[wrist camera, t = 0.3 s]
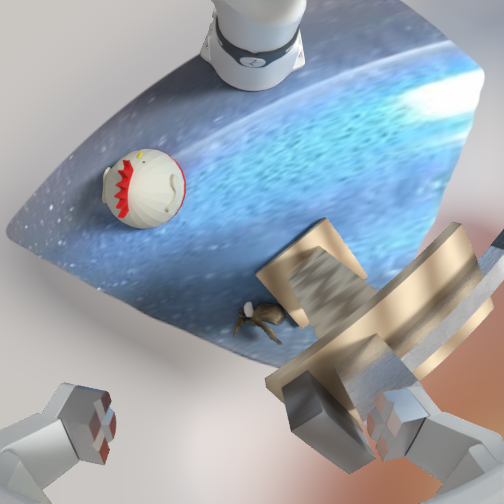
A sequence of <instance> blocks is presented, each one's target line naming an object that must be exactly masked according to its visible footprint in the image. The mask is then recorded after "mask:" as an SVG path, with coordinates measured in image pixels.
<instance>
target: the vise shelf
mask: <svg viewBox="0 0 504 504" xmlns="http://www.w3.org/2000/svg"><path fill="white" fill-rule="evenodd" d="M476 262H477V258H476V256H475V253H474V251H473V248H472V246H471V243H470V241H469V239H468V237H467V234H466V232H465V230H464V227H463V225H462V224H460V223H456V222H452V223H451V225H450V226H448V227H447V229H445V231H443V232H442V234H441V235H440V236H438V237H437V238H436V239H435V240H434V242H432V243H431V244H430V245H429V246H428V247H427V248H426V249H425V250H424V251H423V252H422V253H421V254H420V255H419V256H418V257H417V258H416V259H415V260H413V261H412V262H411V263H410V264H409V265H408V266H407V267H406V268H405V269H404V270H403V271H402V272H400V273H399V274H398V275H397V276H396V277H395V278H394V279H393V280H391V281H390V282H389V283H388V284H387V285H386V286H385V287H383V288H382V289H381V290H380V291H379V292H378V291H377V290H376V289H375V288H373V287H372V286H371V285H370V284H368V283H367V282H366V281H365V280H364V279H366V278H367V277H368V276H367V274H366V273H365V271H364V270H363V268H362V267H361V265H360V264H359V262H358V261H357V260H356V258H355V257H354V255H353V254H352V252H351V251H350V250H349V248H348V247H347V245H346V244H345V243H344V241H343V240H342V238H341V237H340V236H339V234H338V233H337V231H336V230H335V229H334V227H333V226H332V225H331V223H330V222H329V221H328V219H327V218H325V217H324V218H323V219H322V220H321V221H320V222H318V223H317V224H316V225H315V226H313V227H312V228H311V229H310V230H309V231H307V232H306V233H305V234H304V235H302V236H301V237H300V238H299V239H298V240H296V241H295V242H294V243H293V244H291V245H290V246H289V247H288V248H286V249H285V250H284V251H283V252H281V253H280V254H279V255H278V256H276V257H275V258H274V259H273V260H272V261H270V262H269V263H268V264H267V265H265V266H264V267H263V268H262V269H260V270H259V271H258V272H257V273H256V276H257V277H258V279H259V280H260V281H261V282H262V283H263V284H264V286H265V287H266V288H267V289H268V290H269V291H270V292H271V294H272V295H273V296H274V297H275V298H276V299H277V301H278V302H279V303H280V304H281V305H282V306H283V307H284V309H285V310H286V311H287V312H288V313H289V314H290V316H291V317H292V318H293V319H294V320H295V321H296V322H297V324H298V325H299V326H300V327H301V328H302V329H303V328H305V327H306V326H307V325H309V324H311V326H312V328H313V329H314V331H315V333H316V335H317V337H318V339H319V340H318V341H317V342H315V343H314V344H313V345H311V346H310V347H309V348H307V349H306V350H305V351H303V352H302V353H300V354H299V355H298V356H296V357H295V358H294V359H292V360H291V361H289V362H288V363H286V364H285V365H284V366H282V367H281V368H279V369H278V370H276V371H275V372H274V373H272V374H271V375H269V376H268V377H266V378H265V383H266V388H267V389H268V390H269V391H271V392H272V393H273V394H274V395H275V396H276V397H277V398H278V399H279V400H281V401H282V402H283V403H284V404H285V407H286V411H287V415H288V420H289V424H290V429H291V432H292V433H294V434H295V435H296V436H298V437H299V438H300V439H302V440H303V441H304V442H305V443H307V444H308V445H309V446H311V447H312V448H313V449H315V450H316V451H317V452H319V453H320V454H321V455H323V456H324V457H325V458H327V459H328V460H330V461H331V462H332V463H334V464H335V465H337V466H338V467H339V468H341V469H343V470H344V471H345V472H347V473H348V474H351V473H353V472H355V471H356V470H358V469H360V468H361V467H363V466H364V465H366V464H368V463H369V462H371V461H373V460H374V459H376V458H375V456H374V453H373V451H372V449H371V447H370V445H369V443H368V441H367V439H366V437H365V435H364V433H363V431H362V429H361V427H360V426H361V425H362V424H364V423H363V422H362V420H361V418H360V416H359V414H358V412H357V410H356V409H355V407H354V405H353V403H352V401H351V399H350V397H349V395H348V393H347V391H346V389H345V387H344V385H343V383H342V381H341V379H340V377H339V375H338V374H337V372H336V370H335V368H334V366H335V365H337V364H338V363H339V362H341V361H342V360H343V359H345V358H346V357H347V356H349V355H350V354H351V353H353V352H354V351H355V350H356V349H358V348H359V347H360V346H362V345H363V344H364V343H365V342H367V341H368V340H369V339H370V338H372V337H373V336H374V335H375V334H376V333H377V334H378V335H379V336H380V337H381V338H382V339H383V340H384V341H385V343H386V344H387V345H388V346H390V345H391V344H392V343H393V342H395V341H396V340H397V339H398V338H399V337H400V336H402V335H403V334H404V333H405V332H406V331H407V330H409V329H410V328H411V327H412V326H413V325H414V324H415V323H416V322H418V321H419V320H420V319H421V318H422V317H423V316H424V315H425V314H426V313H427V312H428V311H429V310H430V309H432V308H433V307H434V306H435V305H436V304H437V303H438V302H439V301H440V300H441V299H442V298H443V297H444V296H445V295H446V294H447V293H448V292H449V291H450V290H451V289H452V288H453V287H454V286H455V285H456V284H457V283H458V282H459V281H460V280H461V279H462V277H463V276H464V275H465V274H466V273H467V272H468V271H469V270H470V269H471V268H472V267H473V266H474V264H475V263H476ZM493 308H494V307H493V303H492V300H491V297H490V296H489V298H488V299H487V300H486V301H485V302H484V303H483V304H482V305H481V307H480V308H479V309H478V310H477V311H476V312H475V313H474V314H473V315H472V316H471V317H470V318H469V319H468V320H467V321H466V322H465V324H464V325H463V326H462V327H461V328H460V329H459V330H458V331H457V332H456V333H455V334H454V335H453V336H452V337H450V338H449V339H448V340H447V341H446V342H445V343H444V344H443V345H442V346H441V347H440V348H439V349H438V350H437V351H436V352H435V353H433V354H432V355H431V356H430V357H429V358H428V359H427V360H426V361H424V362H423V363H422V364H421V365H420V366H419V367H418V368H416V369H415V370H414V371H413V372H412V373H413V374H414V376H415V377H416V378H417V379H418V380H419V381H420V380H421V379H423V378H424V377H425V376H426V375H427V374H428V373H429V372H431V371H432V370H433V369H434V368H435V367H436V366H437V365H439V364H440V363H441V362H442V361H443V360H444V359H445V358H446V357H447V356H448V355H449V354H450V353H451V352H452V351H453V350H455V349H456V348H457V346H459V345H460V344H461V343H462V342H463V341H464V340H465V339H466V338H467V337H468V336H469V334H470V333H471V332H472V331H473V330H474V329H475V328H476V327H477V326H478V325H479V324H480V323H481V322H482V321H483V320H484V318H485V317H486V316H487V315H488V314H489V313H490V312H491V311H492V309H493Z"/></svg>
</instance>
